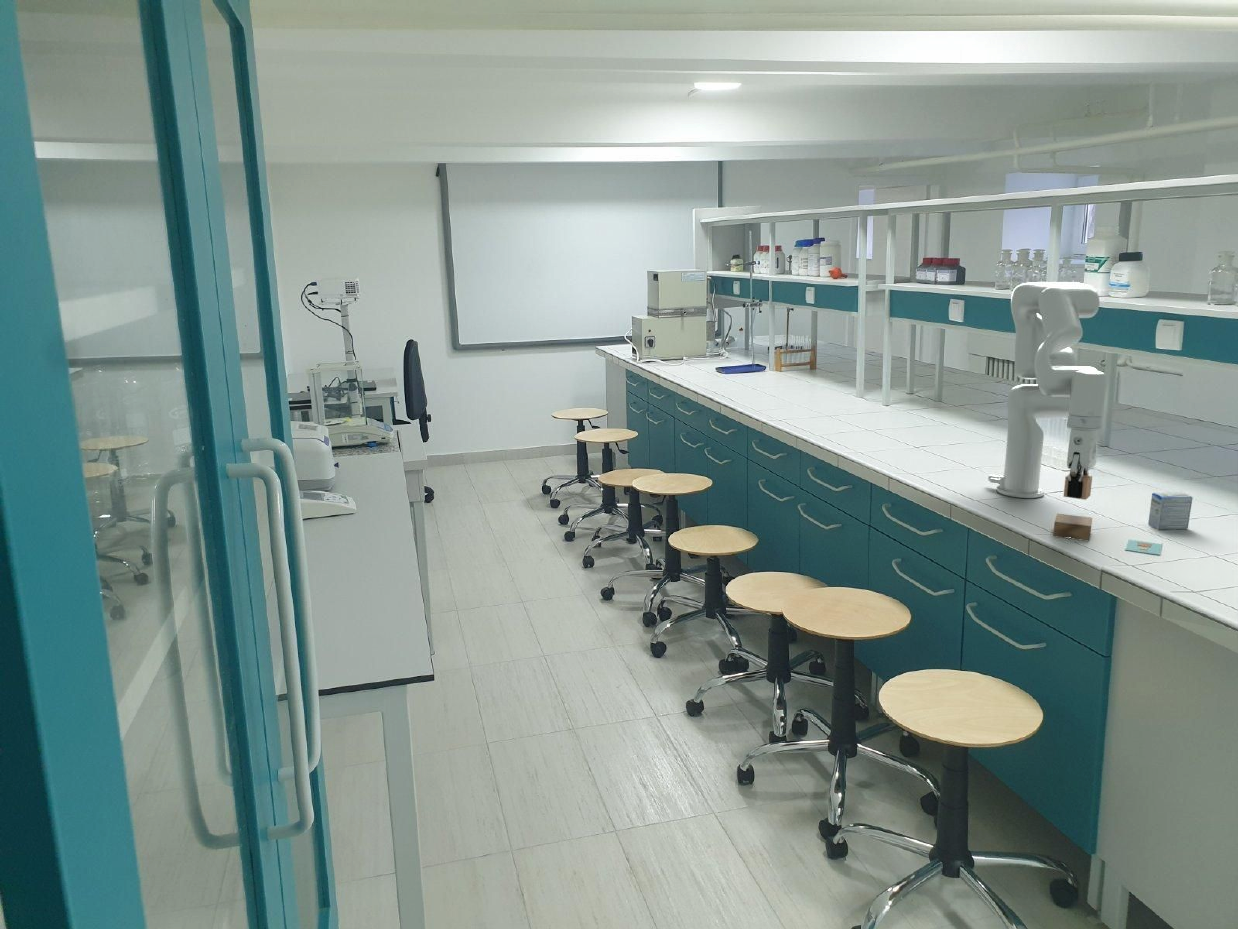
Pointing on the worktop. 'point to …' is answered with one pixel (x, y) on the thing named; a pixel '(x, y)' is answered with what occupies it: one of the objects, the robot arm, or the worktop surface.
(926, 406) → the worktop surface
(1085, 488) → the painted brick
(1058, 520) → the walnut block
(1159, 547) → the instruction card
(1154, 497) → the medicine box
